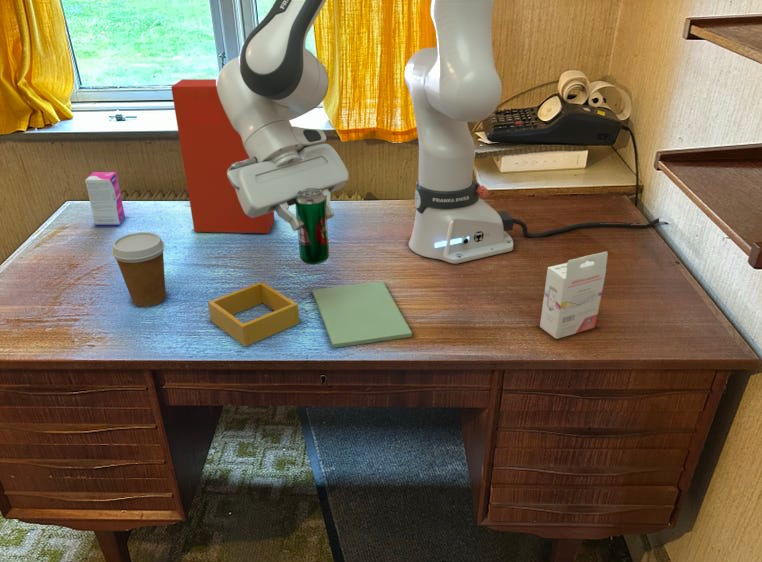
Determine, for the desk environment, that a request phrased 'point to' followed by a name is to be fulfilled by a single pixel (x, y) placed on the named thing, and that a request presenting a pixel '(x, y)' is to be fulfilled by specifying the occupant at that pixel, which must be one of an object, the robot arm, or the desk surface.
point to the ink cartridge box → (573, 295)
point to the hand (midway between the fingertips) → (314, 223)
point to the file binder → (211, 160)
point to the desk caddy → (259, 327)
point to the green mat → (360, 314)
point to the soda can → (312, 226)
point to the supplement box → (105, 199)
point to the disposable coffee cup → (142, 267)
